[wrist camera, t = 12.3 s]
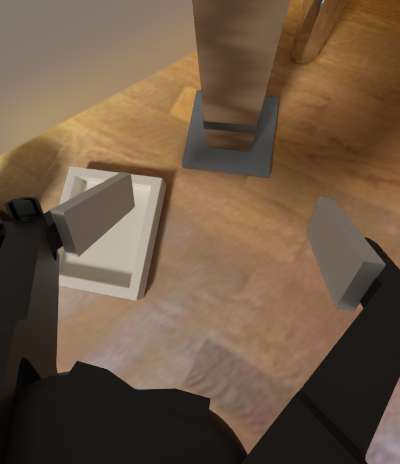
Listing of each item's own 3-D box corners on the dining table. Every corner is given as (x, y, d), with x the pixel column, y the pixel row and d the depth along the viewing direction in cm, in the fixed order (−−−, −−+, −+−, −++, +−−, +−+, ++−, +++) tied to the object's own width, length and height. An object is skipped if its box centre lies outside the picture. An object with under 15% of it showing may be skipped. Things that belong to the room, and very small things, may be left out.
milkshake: (278, 38, 27) (312, -92, 17) (322, 38, 27) (382, -97, 17) (277, 68, 26) (312, -49, 17) (322, 68, 26) (385, -54, 16)
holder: (166, 185, 25) (162, 178, 23) (143, 297, 23) (136, 300, 21) (81, 174, 26) (69, 166, 24) (52, 279, 24) (37, 280, 22)
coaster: (277, 100, 26) (279, 96, 25) (268, 177, 24) (269, 175, 24) (197, 94, 27) (196, 90, 26) (182, 167, 25) (182, 165, 25)
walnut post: (256, 112, 25) (302, -79, 11) (250, 153, 24) (292, -1, 10) (213, 109, 26) (206, -77, 12) (206, 148, 25) (189, -3, 11)
